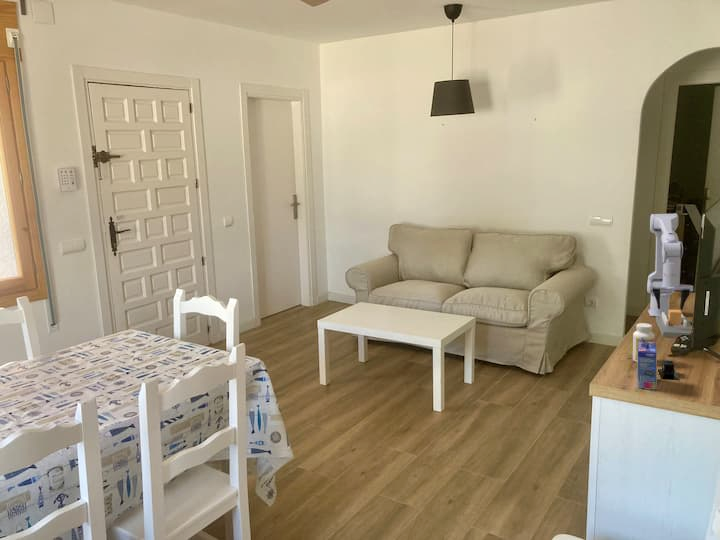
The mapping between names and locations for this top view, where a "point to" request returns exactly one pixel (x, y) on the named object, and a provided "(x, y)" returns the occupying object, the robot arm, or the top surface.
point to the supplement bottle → (642, 336)
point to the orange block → (674, 317)
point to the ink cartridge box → (647, 365)
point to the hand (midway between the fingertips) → (670, 308)
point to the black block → (668, 371)
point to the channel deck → (673, 326)
